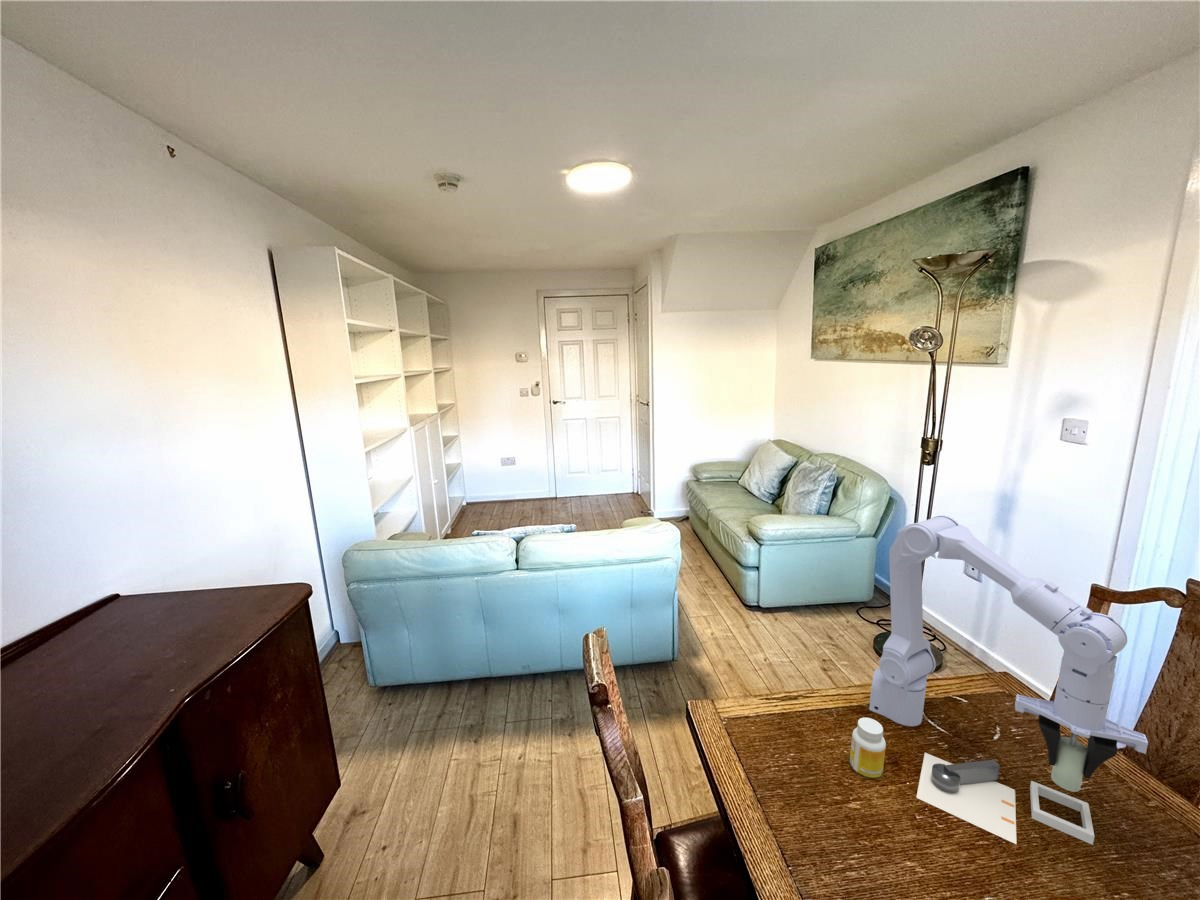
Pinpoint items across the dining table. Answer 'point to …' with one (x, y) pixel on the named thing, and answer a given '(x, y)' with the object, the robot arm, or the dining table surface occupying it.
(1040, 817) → the tool holder
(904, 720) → the robot arm
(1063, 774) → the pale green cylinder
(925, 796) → the dial panel
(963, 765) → the dial lever
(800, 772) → the dining table surface
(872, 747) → the supplement bottle
